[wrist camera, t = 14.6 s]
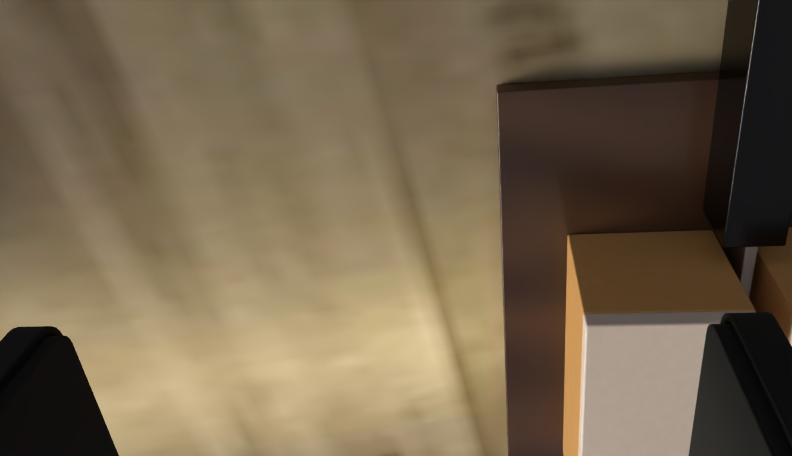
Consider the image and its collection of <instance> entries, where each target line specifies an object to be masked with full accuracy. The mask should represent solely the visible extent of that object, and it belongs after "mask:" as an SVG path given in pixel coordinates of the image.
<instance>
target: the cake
mask: <svg viewBox="0 0 792 456" xmlns="http://www.w3.org/2000/svg"><path fill="white" fill-rule="evenodd" d="M750 312H769V313H771V314H773V316H774V317H775V318H776V320H777V322H778V323H779V325H780V327H781V329H782V330H783V332H784V334H785V336H786V337H787V339H788V341H789V342H790V344H791V346H792V227H789V229H788V235H787V240H786V245H785V246H766V247H758V251H757V256H756V262H755V268H754V274H753V280H752V285H751V291H750V297H748V295H747V294H746V292H745V290H744V288H743V286H742V284H741V282H740V281H739V279H738V277H737V275H736V273H735V271H734V270H733V268H732V266H731V264H730V262H729V260H728V258H727V257H726V255H725V253H724V251H723V249H722V247H721V246H720V244H719V242H718V240H717V238H716V236H715V234H714V233H713V231H712V230H697V231H666V232H636V233H605V234H574V235H568V236H567V283H566V330H565V376H564V423H563V455H564V456H689V449H690V442H691V435H692V428H693V421H694V414H695V407H696V400H697V393H698V386H699V379H700V372H701V365H702V358H703V351H704V344H705V337H706V331H707V328H708V326H709V325H710V324H720V322H721V318H722V316H723V315H724V314H725V313H750Z"/></svg>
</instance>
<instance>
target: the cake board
mask: <svg viewBox="0 0 792 456" xmlns="http://www.w3.org/2000/svg"><path fill="white" fill-rule="evenodd" d="M719 73H720V71H712V72H696V73H680V74H663V75H647V76H631V77H615V78H598V79H582V80H566V81H549V82H533V83H517V84H501V85H497V117H498V149H499V181H500V212H501V244H502V276H503V307H504V339H505V371H506V403H507V434H508V456H564V455H563V423H564V376H565V330H566V283H567V236H568V235H574V234H605V233H636V232H666V231H697V230H712V231H713V233H714V234H715V232H714V230H713V228H712V226H711V224H710V223H709V221H708V219H707V217H706V215H705V213H704V212H703V202H704V194H705V186H706V178H707V170H708V162H709V154H710V146H711V138H712V130H713V122H714V114H715V106H716V98H717V90H718V81H719ZM789 227H792V214H791V219H790V224H789ZM715 236H716V234H715ZM716 238H717V240H718V242H719V244H720V241H719V239H718V237H717V236H716Z"/></svg>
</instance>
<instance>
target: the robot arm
mask: <svg viewBox="0 0 792 456" xmlns="http://www.w3.org/2000/svg"><path fill="white" fill-rule="evenodd" d="M0 456H119V455H118V453H117V450H116V448H115V445H114V443H113V441H112V438H111V436H110V433H109V431H108V428H107V426H106V424H105V421H104V419H103V416H102V414H101V411H100V409H99V407H98V404H97V402H96V399H95V397H94V394H93V392H92V389H91V387H90V385H89V382H88V380H87V377H86V375H85V372H84V370H83V368H82V365H81V363H80V360H79V358H78V355H77V353H76V351H75V348H74V346H73V343H72V342H71V340H70V339H69V338H68V337H67V336H63V335H62V333H61V332H60V331H59V330H58V329H57V328H56V327H51V326H44V327H17V328H14V329H12V330H11V331H10V332H8V333H7V334H6V336H5V337H4V338H3V339H2V340H1V341H0ZM689 456H792V346H791V344H790V342H789V341H788V339H787V337H786V336H785V334H784V332H783V330H782V329H781V327H780V325H779V323H778V322H777V320H776V318H775V317H774V316H773V314H771V313H769V312H750V313H725V314H724V315H723V316H722V318H721V322H720V324H710V325H709V326H708V328H707V331H706V337H705V344H704V351H703V358H702V365H701V372H700V379H699V386H698V393H697V400H696V407H695V414H694V421H693V428H692V435H691V442H690V449H689Z"/></svg>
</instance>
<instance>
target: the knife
mask: <svg viewBox="0 0 792 456" xmlns="http://www.w3.org/2000/svg"><path fill="white" fill-rule="evenodd" d="M703 212H704V213H705V215H706V217H707V219H708V221H709V223H710V224H711V226H712V228H713V230H714V232H715V234H716V236H717V237H718V239H719V241H720V246H721V247H722V249H723V251H724V253H725V255H726V257H727V258H728V260H729V262H730V264H731V266H732V268H733V270H734V271H735V273H736V275H737V277H738V279H739V281H740V282H741V284H742V286H743V288H744V290H745V292H746V294H747V295H748V297H750V291H751V285H752V280H753V274H754V268H755V262H756V256H757V251H758V247H766V246H785V245H786V240H787V235H788V229H789V224H790V219H791V214H792V0H729V1H728V9H727V17H726V25H725V33H724V41H723V49H722V57H721V65H720V73H719V81H718V90H717V98H716V106H715V114H714V122H713V130H712V138H711V146H710V154H709V162H708V170H707V178H706V186H705V194H704V202H703Z"/></svg>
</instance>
